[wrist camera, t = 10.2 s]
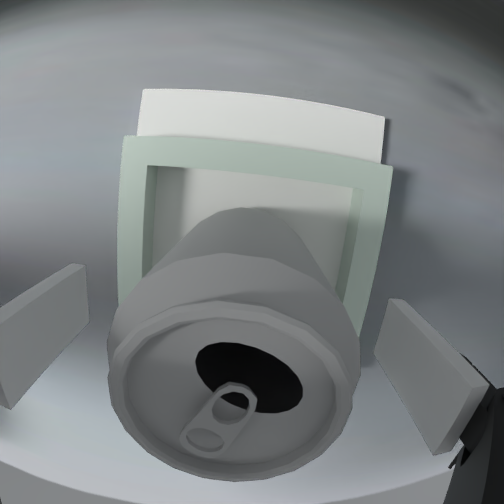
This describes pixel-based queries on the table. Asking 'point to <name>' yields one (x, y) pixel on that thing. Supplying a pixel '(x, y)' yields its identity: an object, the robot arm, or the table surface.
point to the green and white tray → (255, 180)
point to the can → (234, 352)
